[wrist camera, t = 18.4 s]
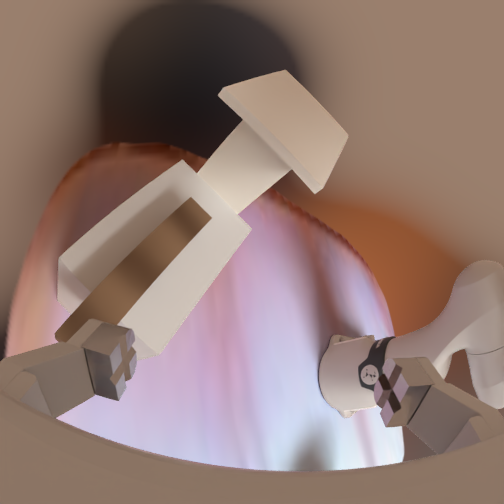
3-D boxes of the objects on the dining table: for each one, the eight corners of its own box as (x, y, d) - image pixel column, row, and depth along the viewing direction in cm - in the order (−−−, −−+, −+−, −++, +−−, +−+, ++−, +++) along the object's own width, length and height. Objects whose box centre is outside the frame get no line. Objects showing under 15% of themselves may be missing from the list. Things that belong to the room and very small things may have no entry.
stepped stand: (185, 183, 52) (285, 69, 33) (231, 228, 55) (349, 135, 35) (57, 300, 32) (72, 156, 12) (123, 363, 34) (246, 330, 14)
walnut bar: (178, 211, 30) (190, 196, 28) (198, 231, 31) (212, 217, 29) (55, 338, 18) (54, 333, 16) (83, 365, 19) (85, 363, 17)
